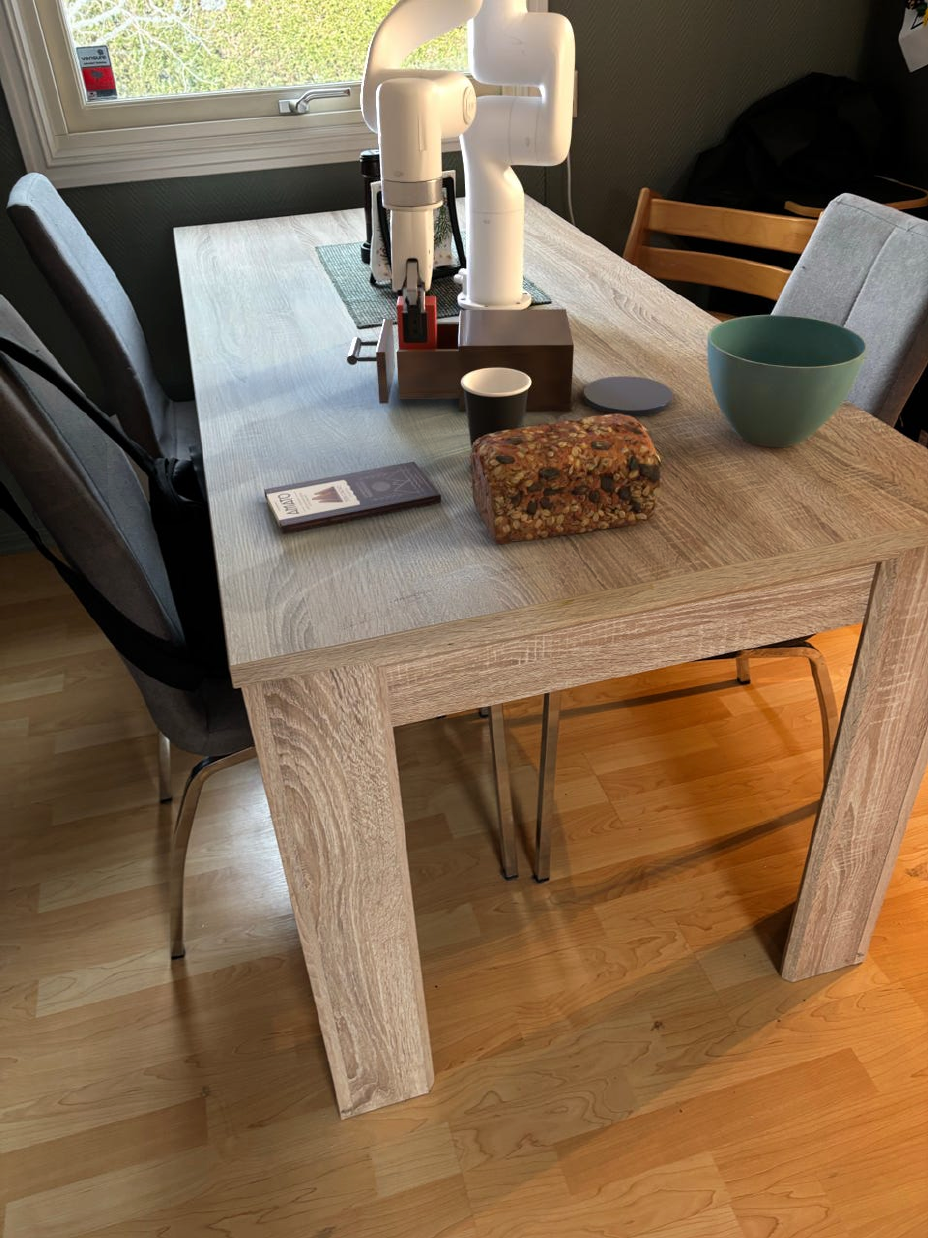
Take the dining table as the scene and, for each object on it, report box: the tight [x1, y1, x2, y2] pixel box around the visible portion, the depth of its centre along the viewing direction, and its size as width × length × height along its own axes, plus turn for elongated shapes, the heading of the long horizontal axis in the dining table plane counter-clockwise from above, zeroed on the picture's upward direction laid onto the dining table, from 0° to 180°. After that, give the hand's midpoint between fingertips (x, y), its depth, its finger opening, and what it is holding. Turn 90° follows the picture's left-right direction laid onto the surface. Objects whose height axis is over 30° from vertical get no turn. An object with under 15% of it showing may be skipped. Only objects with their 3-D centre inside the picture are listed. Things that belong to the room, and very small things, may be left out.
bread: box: [469, 413, 664, 545], centre depth 104 cm, size 19×11×10 cm, turn 103°
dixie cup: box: [461, 368, 531, 449], centre depth 113 cm, size 8×8×11 cm
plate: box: [583, 375, 674, 417], centre depth 133 cm, size 12×12×1 cm
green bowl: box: [706, 314, 868, 448], centre depth 120 cm, size 18×18×12 cm
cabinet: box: [458, 308, 575, 413], centre depth 133 cm, size 15×14×9 cm
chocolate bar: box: [263, 461, 442, 534], centre depth 110 cm, size 9×1×18 cm
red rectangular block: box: [396, 295, 438, 350], centre depth 132 cm, size 5×4×10 cm
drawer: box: [346, 318, 460, 405], centre depth 134 cm, size 18×13×7 cm
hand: (417, 330), depth 131 cm, fingers open, 8 cm apart
